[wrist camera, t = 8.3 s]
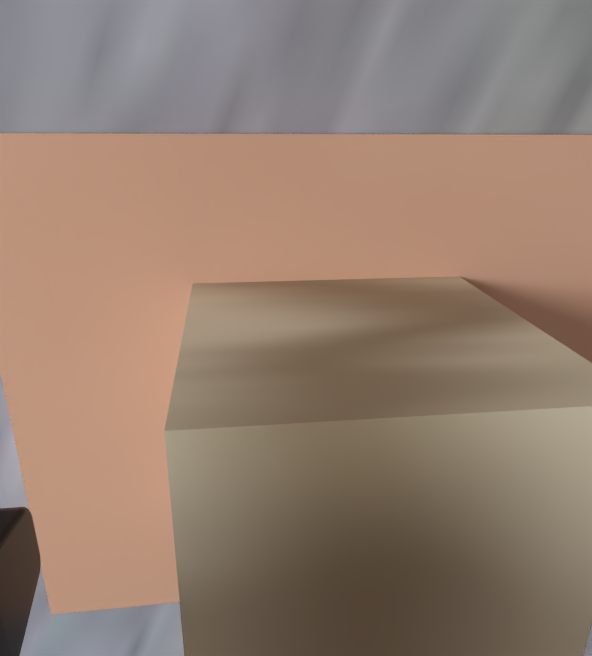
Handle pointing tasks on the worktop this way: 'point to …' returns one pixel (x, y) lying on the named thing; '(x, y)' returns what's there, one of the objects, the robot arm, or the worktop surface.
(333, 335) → the beige cube
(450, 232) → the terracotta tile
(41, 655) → the worktop surface
